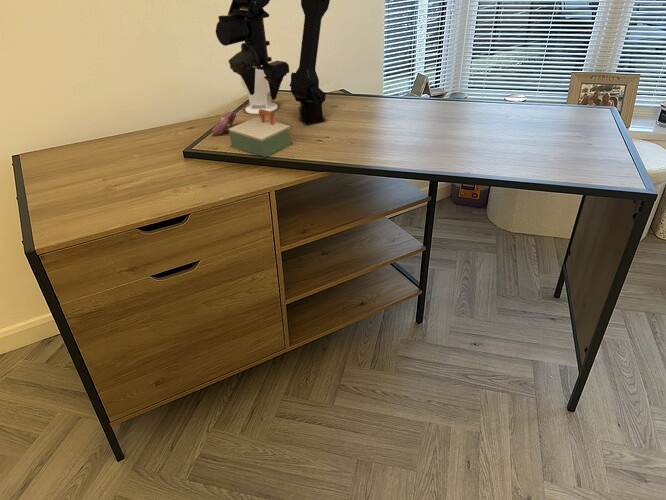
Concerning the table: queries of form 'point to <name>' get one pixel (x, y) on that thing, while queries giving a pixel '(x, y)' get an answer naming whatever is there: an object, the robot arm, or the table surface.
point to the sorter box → (261, 143)
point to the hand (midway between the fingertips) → (262, 97)
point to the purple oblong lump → (224, 123)
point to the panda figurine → (259, 95)
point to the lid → (260, 127)
